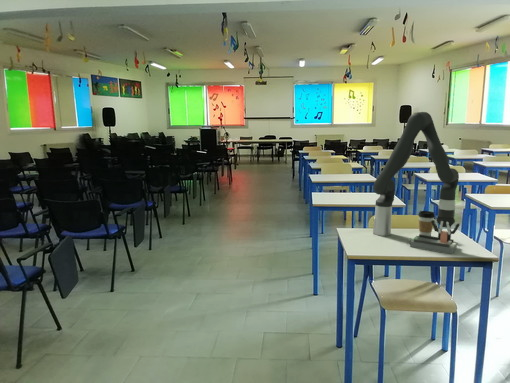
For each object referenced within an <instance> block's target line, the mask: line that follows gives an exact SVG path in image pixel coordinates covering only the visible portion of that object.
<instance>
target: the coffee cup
mask: <svg viewBox="0 0 510 383" xmlns="http://www.w3.org/2000/svg"><path fill="white" fill-rule="evenodd" d="M417 216H418V233H419V234H420V235H427V236H432V232H433V231H432V230H433V225H432V222H431V221H432V220H435V219H434V218H435V212H434V211H429V210H420V211H419V213H418V215H417ZM419 234H418V235H419Z"/></svg>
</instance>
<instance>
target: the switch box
mask: <svg viewBox="0 0 510 383" xmlns="http://www.w3.org/2000/svg"><path fill="white" fill-rule="evenodd" d="M438 240H439V239H438V236H434V235H433V236H432V235H431V236H427V235H420V234H418V235H416V236H414V238H412V239H411V240H410V245H409V247H410V248H415V249H421V250H426V251H430V252H432V251H433V252H438V253H442V254H443V253H444V254H449V255H452V254H453V253H454V252H455V251H456V250H457V245H458V242H457V241H454V239H452V238H451V239H450V241H452V243H451V244H450V245H448V244H442V243H436V242H437V241H438Z"/></svg>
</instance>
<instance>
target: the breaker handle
mask: <svg viewBox="0 0 510 383" xmlns="http://www.w3.org/2000/svg"><path fill="white" fill-rule="evenodd" d="M447 234H448V230H447V231H446V230H442V232H441V236H440V240H438V241H437V242H436V243H442V244H448V245H450V244H451V243H452V241H447Z"/></svg>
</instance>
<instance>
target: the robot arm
mask: <svg viewBox="0 0 510 383" xmlns="http://www.w3.org/2000/svg"><path fill="white" fill-rule="evenodd" d="M420 131H421V132H422V134H423V136H424V138H425V139H426V144H427V149H428V150H427V151H428V154H429V157H430V158H431V161H432V162H433V165H434V166H435V170H436V174H437V177H438V178H439V181H440V182H441V183H443V185H442V187H441V188H440V191H439V201H438V207H437V208H438V209H437V217H436V219H433V220H432V221H431V222H432V225H433V227H432V229H433V230H434V232H437V233H438V234H437V237H438V239H439V240H440V236H441V232H442V231H443V228H446V230H447V232H448V234H447V241H450V239H452V235H454V234H455V233H456V232H457V231H458V229H459V228H460V226H461V223H460V222H457V221H456V220H455V210H456V192H457V187H458V182H459V179H460V178H459V171H458V170H457V169H456V168H451V167H450V159H449V156H448V154H447V152H446V151H445V149H444V147H443V145H442V142H441V141H440V138H439V135H438V131H437V130H436V126H435V124H434V120H433V117H432V116H431V114H430V113H428V112H426V111H419V112H418V111H417V112H414V113H412V114H410V116H409V118H408V120H407V123H406V125H405V127H404V129H403V132H402V134H401V136H400V138H399V139H398V141H397V143H396V145H395V146H394V148H393V151H392V152H391V154H390V155H389V158H388V160H387V162H386V163H385V166H384V167H383V169H382V171H380V173H379V175H378V176H377V177H376V179H375V181H374V183H373V186H372V188H373V192H374V193H375V194H376V195H379V196H378V198H377V199H375V209H374V210H375V212H374V217H373V224H372V226H373V228H372V229H373V230H372V234H373V233H374V235H376V236H382V237H389V236H391V233H392V220H393V219H392V216H393V215H392V214H393V213H392V212H393V202H394V200H395V194H396V184H395V181H394V179H393V177H394V176H395V175H396V174H398V172H400V171H401V169H402V168H404V167H405V165H406V164H407V163H408V161H409V159H410V158H411V155H412V154H413V153H412V152H413V147H414V146H413V145H414V142H415V140H416V138H417V136H418V135H419V134H420ZM437 223H438V225H439V227H438V225H437ZM453 225H454V228H453V230H452V226H453Z"/></svg>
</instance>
